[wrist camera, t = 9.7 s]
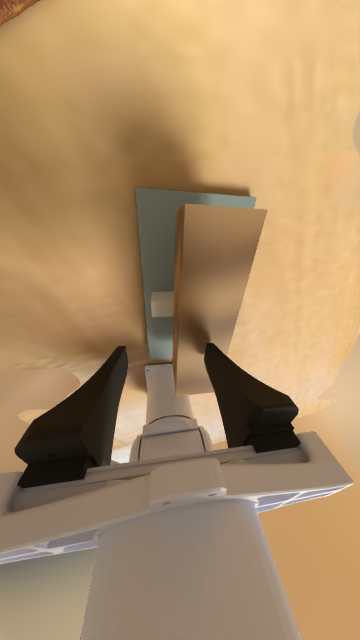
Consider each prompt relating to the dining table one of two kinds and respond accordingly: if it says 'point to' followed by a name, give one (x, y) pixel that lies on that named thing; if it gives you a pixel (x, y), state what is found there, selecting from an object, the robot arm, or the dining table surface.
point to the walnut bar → (209, 284)
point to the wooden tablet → (13, 8)
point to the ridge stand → (166, 255)
